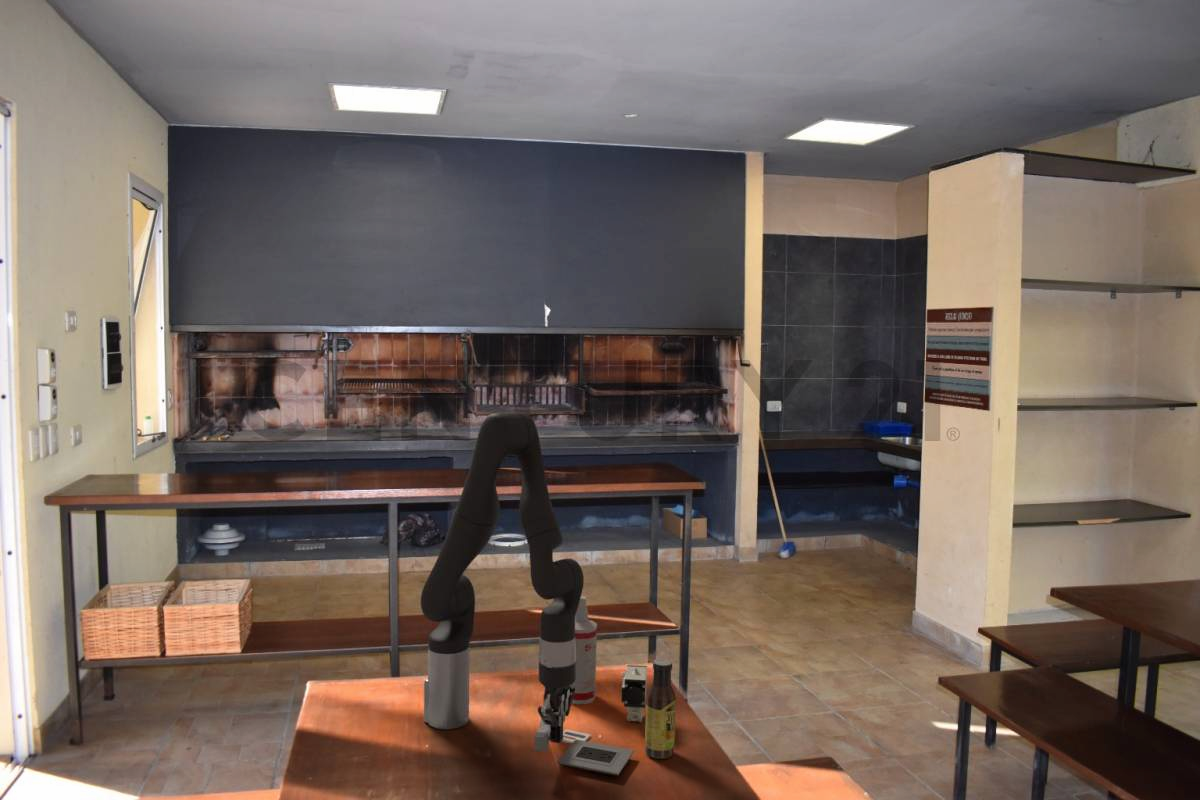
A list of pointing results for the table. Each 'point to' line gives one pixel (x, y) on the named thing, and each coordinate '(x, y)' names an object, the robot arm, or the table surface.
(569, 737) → the label plate
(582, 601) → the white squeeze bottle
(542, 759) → the table surface
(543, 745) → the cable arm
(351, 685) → the table surface
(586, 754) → the electrical outlet
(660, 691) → the sauce bottle
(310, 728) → the table surface
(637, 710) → the pneumatic valve
